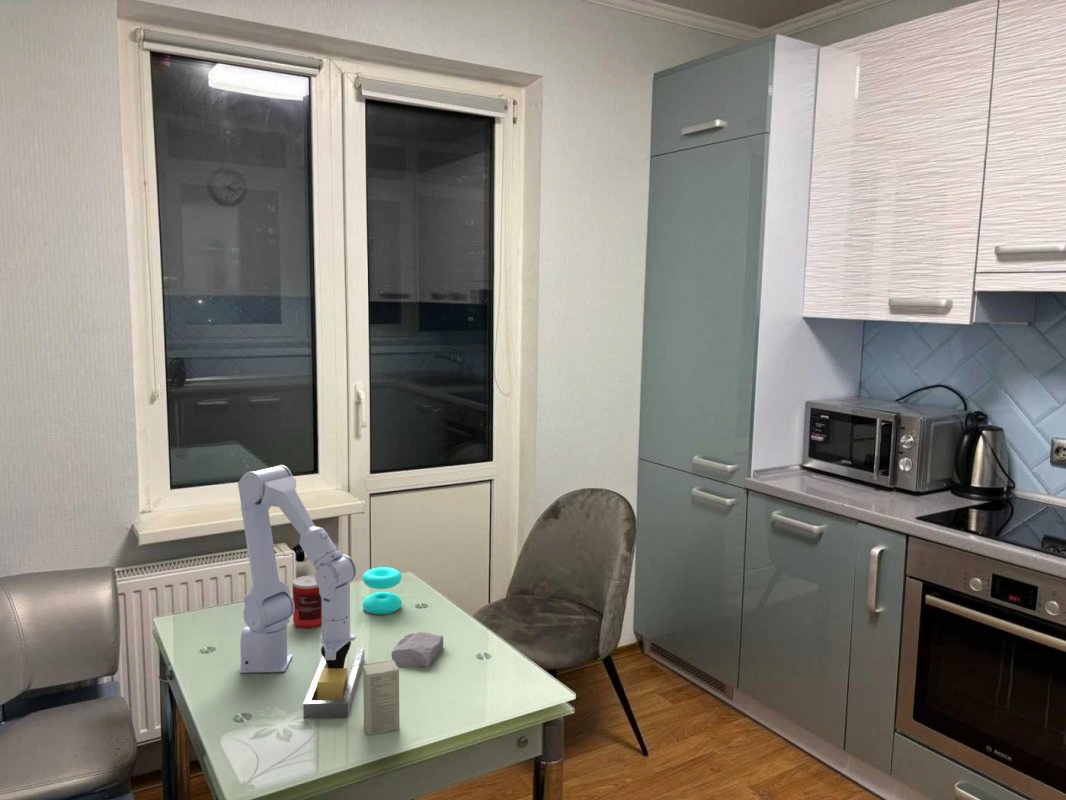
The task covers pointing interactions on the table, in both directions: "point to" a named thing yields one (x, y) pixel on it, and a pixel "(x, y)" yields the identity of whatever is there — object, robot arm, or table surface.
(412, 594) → the table surface
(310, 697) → the chute
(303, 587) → the canned food
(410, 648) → the stone block
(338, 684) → the block
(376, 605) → the donuts
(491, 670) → the table surface
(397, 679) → the skincare box
